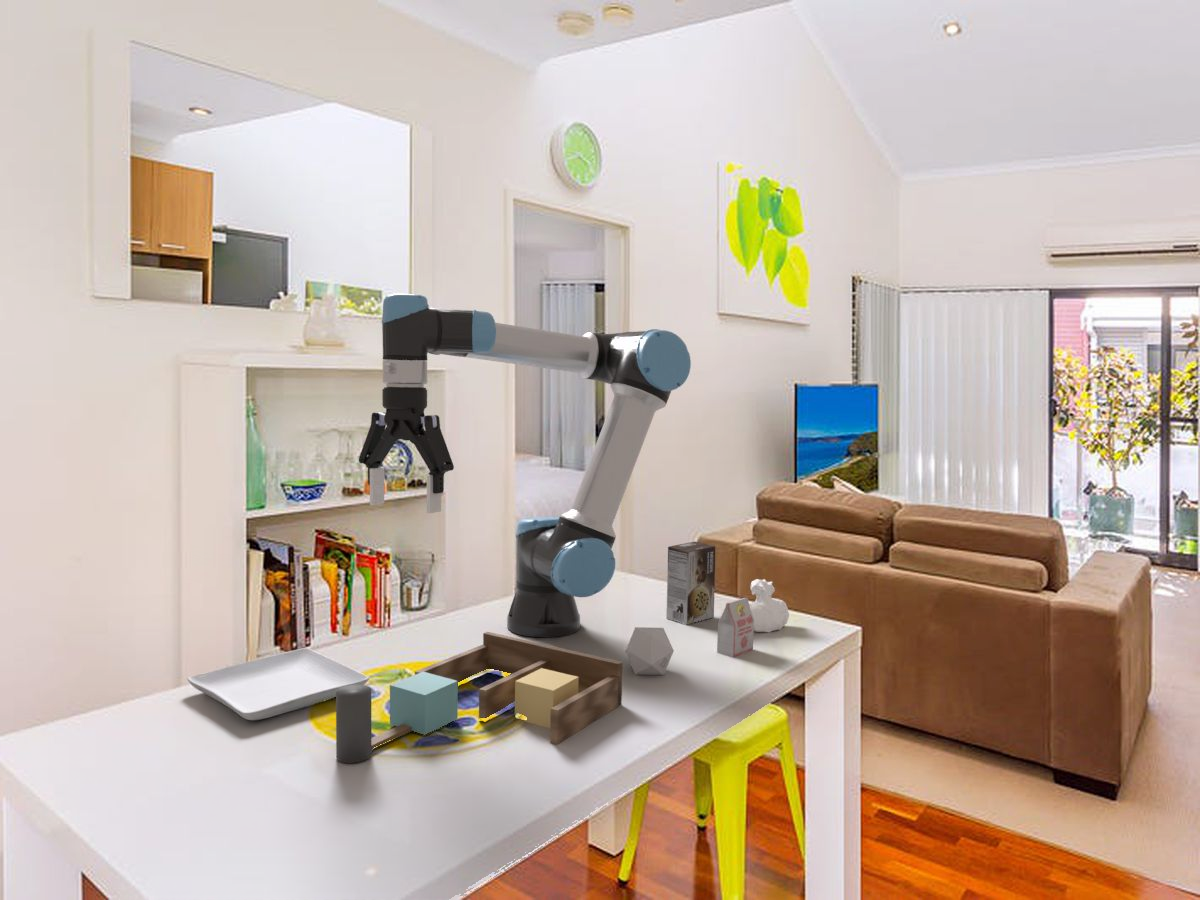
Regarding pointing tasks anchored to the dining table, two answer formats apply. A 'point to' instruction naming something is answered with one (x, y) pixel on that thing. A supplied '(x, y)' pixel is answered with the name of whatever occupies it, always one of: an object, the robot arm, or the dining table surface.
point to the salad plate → (277, 683)
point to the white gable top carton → (735, 629)
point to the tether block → (393, 713)
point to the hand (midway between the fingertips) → (404, 508)
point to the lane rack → (526, 657)
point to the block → (543, 694)
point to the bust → (767, 608)
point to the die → (649, 651)
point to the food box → (690, 582)
